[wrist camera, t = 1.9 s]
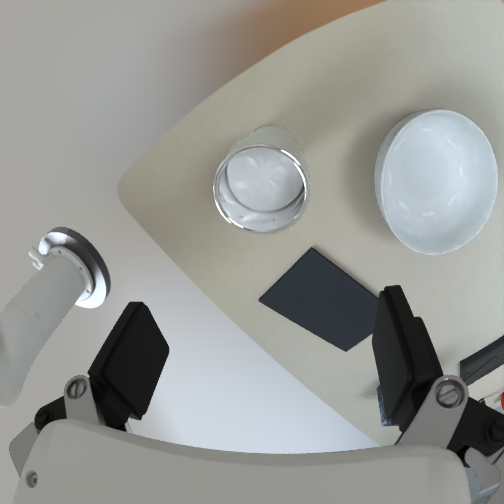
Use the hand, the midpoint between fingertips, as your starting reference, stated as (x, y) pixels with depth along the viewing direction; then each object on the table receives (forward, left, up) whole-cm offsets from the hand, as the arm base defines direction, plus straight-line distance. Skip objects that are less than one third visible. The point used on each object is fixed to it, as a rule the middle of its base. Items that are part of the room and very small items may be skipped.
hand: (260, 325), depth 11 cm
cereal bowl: (+14, +12, -25) cm, 31 cm away
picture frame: (+70, +1, -25) cm, 75 cm away
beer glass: (-2, +1, -25) cm, 25 cm away
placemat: (+20, -12, -25) cm, 35 cm away
